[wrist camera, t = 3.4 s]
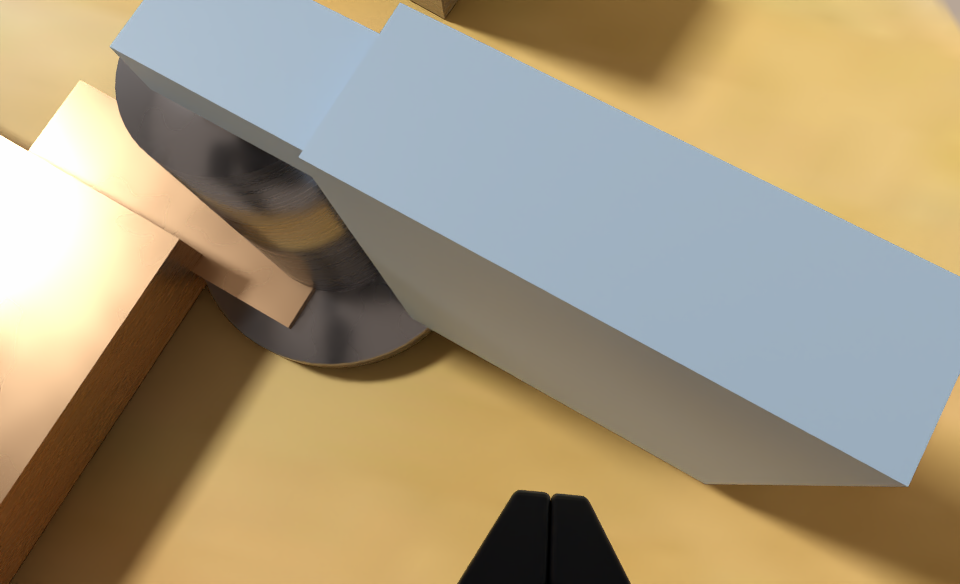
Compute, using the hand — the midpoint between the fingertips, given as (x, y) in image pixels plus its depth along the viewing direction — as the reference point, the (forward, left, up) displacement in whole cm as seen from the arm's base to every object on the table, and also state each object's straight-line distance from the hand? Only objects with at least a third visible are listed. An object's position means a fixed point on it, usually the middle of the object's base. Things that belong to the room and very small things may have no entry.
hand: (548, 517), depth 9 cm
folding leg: (+3, +2, -6) cm, 7 cm away
